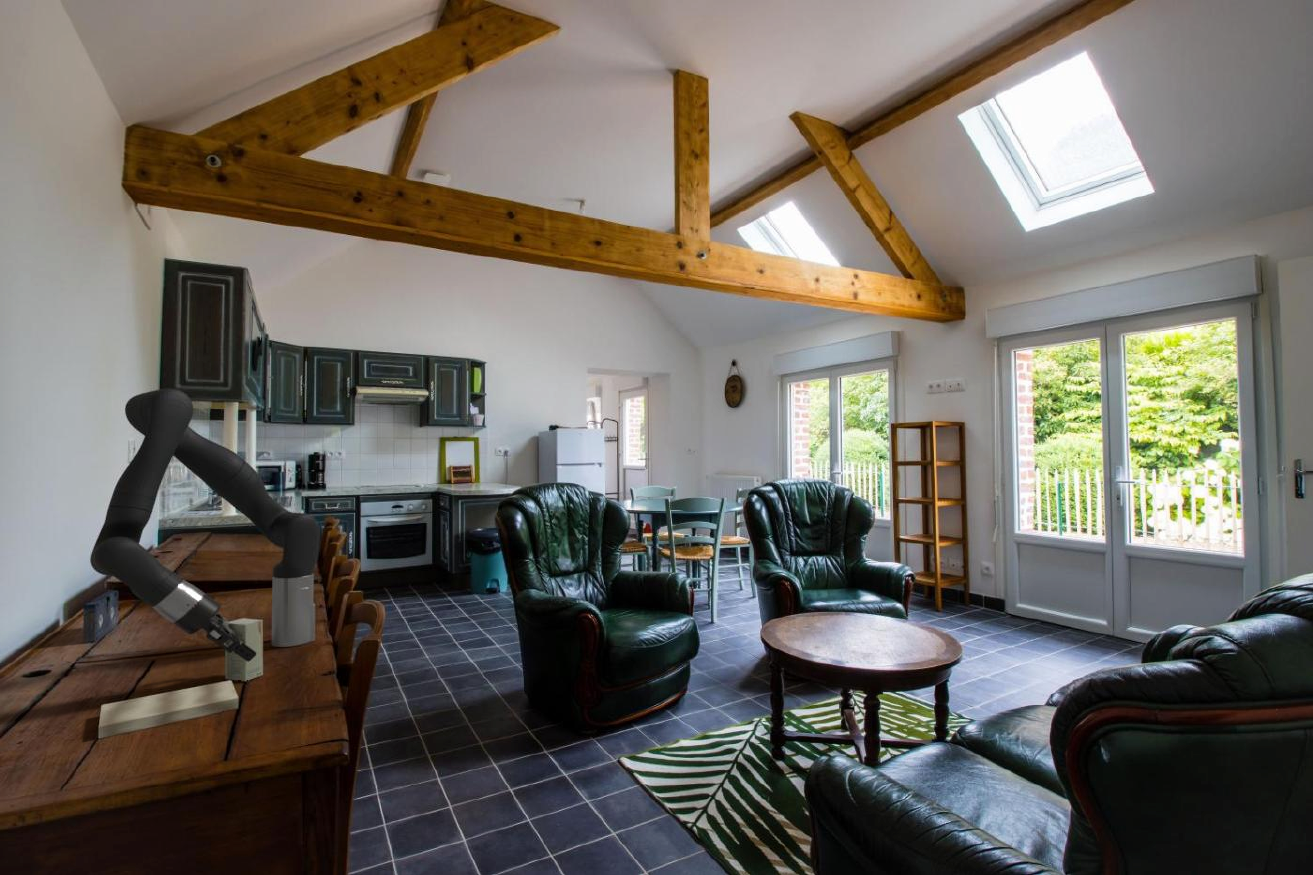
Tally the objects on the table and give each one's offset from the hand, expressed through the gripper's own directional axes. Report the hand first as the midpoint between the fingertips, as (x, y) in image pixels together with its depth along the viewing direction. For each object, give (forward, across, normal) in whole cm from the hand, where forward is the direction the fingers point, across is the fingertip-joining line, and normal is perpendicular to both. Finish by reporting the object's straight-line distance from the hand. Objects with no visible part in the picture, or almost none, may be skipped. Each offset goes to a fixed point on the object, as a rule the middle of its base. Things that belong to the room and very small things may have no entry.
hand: (252, 652), depth 137 cm
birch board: (-6, -14, +13) cm, 20 cm away
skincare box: (+3, 0, +5) cm, 6 cm away
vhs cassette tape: (-19, +60, +26) cm, 69 cm away
